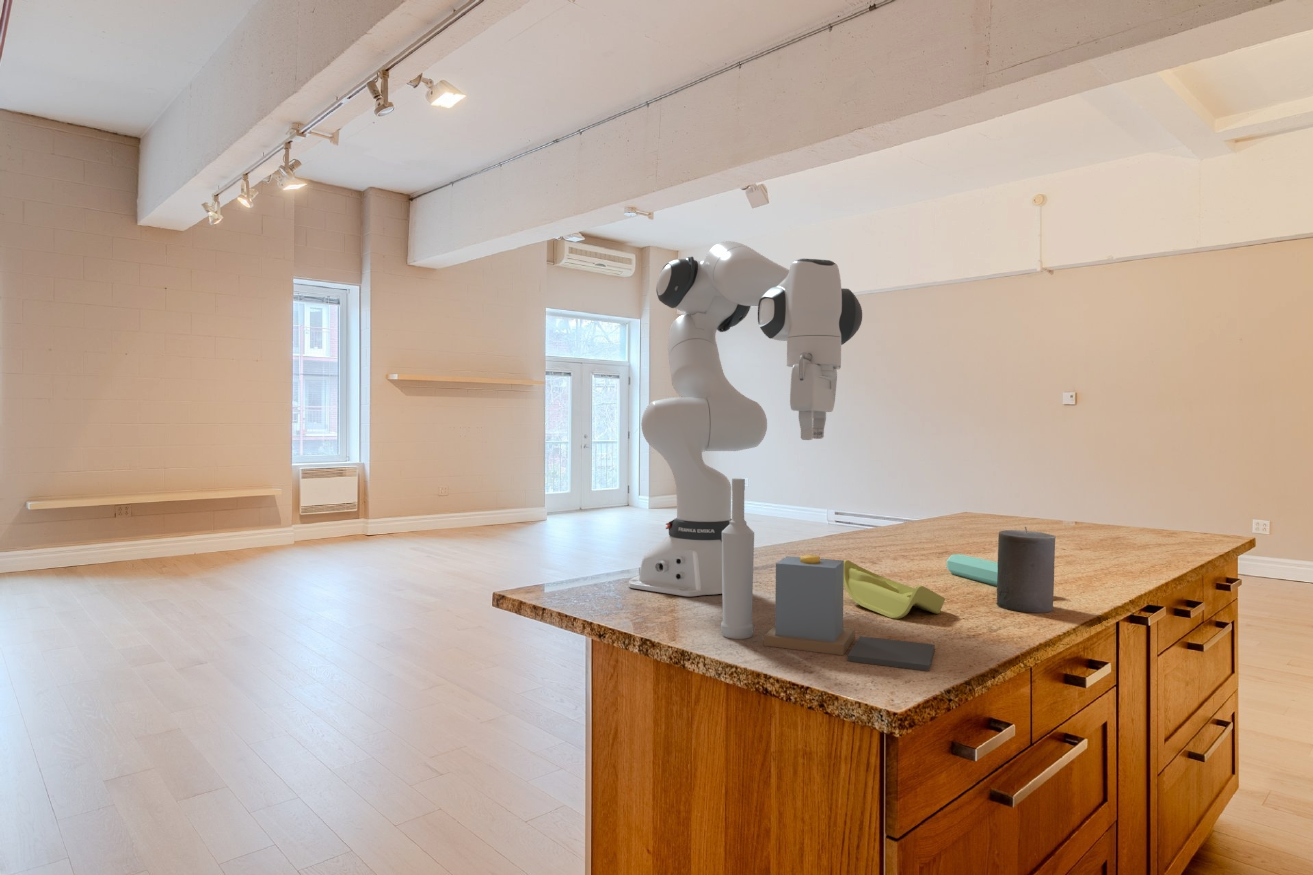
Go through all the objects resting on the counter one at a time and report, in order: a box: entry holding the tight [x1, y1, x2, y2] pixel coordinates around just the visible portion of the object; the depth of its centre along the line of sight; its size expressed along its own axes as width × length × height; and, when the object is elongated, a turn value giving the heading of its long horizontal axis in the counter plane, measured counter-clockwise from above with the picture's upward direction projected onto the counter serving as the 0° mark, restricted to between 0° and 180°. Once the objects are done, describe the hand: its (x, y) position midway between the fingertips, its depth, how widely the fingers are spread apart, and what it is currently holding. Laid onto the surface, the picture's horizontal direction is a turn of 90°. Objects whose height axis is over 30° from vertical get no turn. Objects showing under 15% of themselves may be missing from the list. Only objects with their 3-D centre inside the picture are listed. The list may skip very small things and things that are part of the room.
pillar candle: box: [995, 526, 1056, 614], centre depth 145 cm, size 10×10×15 cm
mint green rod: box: [946, 553, 998, 587], centre depth 167 cm, size 6×6×25 cm
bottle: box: [720, 477, 755, 640], centre depth 124 cm, size 5×5×25 cm
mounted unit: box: [763, 554, 856, 656], centre depth 121 cm, size 12×10×13 cm
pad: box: [847, 635, 936, 672], centre depth 114 cm, size 11×11×1 cm
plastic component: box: [843, 559, 946, 620], centre depth 146 cm, size 20×7×10 cm
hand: (812, 439), depth 130 cm, fingers open, 8 cm apart
